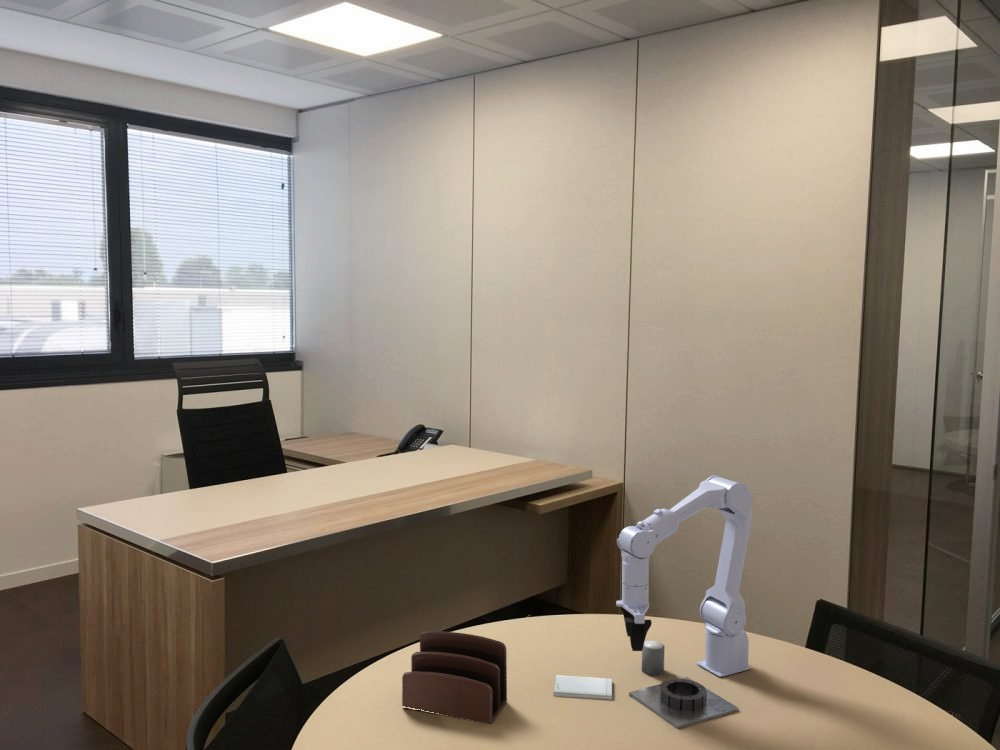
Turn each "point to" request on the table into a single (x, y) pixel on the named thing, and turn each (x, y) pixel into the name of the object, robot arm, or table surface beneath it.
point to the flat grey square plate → (683, 702)
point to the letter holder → (457, 676)
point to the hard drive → (583, 687)
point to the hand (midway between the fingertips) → (634, 643)
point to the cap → (653, 658)
